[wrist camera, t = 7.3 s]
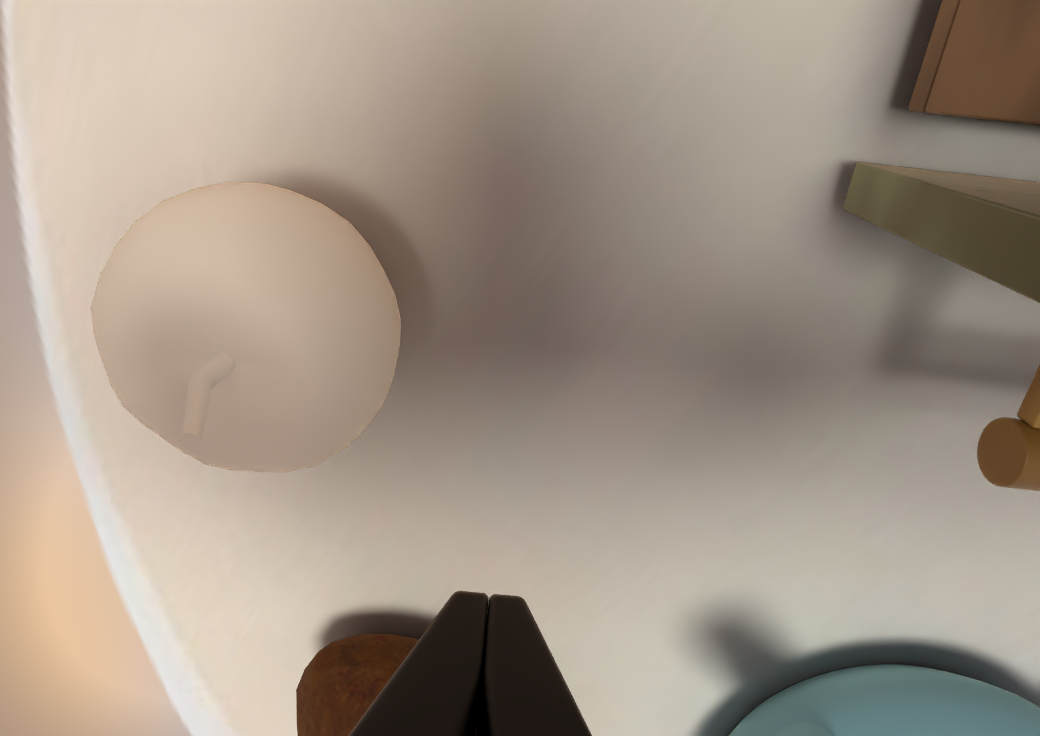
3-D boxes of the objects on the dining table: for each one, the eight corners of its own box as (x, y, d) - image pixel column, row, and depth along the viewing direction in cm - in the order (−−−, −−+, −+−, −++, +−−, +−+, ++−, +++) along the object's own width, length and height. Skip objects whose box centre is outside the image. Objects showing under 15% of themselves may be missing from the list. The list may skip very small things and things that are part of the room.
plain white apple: (276, 426, 22) (137, 605, 15) (141, 227, 19) (-108, 321, 12) (467, 345, 20) (420, 497, 13) (348, 118, 18) (207, 151, 11)
